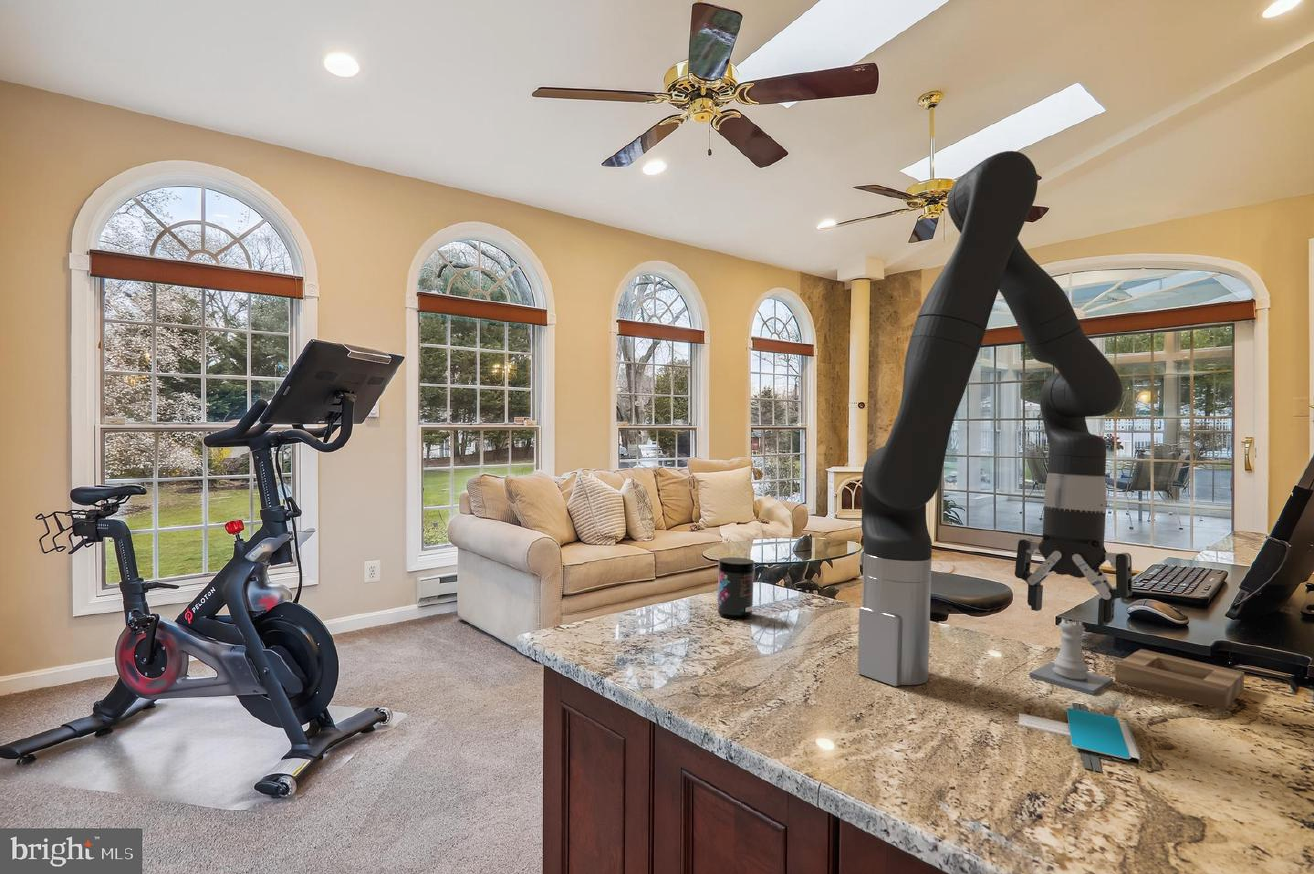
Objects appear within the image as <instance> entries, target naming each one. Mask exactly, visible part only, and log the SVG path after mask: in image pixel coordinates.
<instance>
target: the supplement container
mask: <svg viewBox="0 0 1314 874" xmlns="http://www.w3.org/2000/svg"><path fill="white" fill-rule="evenodd" d="M717 568H718V577H717V578H718V584H717V585H718V586H717V613H718V615H719V616H721V617H723V618H724V619H729V620H747V619H749V618H751V617H752V615H753V610H754V609H753V606H754V603H753V602H754V577H755V576H754V573H755V561H754V560H752V559H749V558H743V557H731V556H730V557H721V558H719V559H718V567H717Z"/></svg>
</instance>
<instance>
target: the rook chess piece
mask: <svg viewBox="0 0 1314 874" xmlns="http://www.w3.org/2000/svg"><path fill="white" fill-rule="evenodd" d="M1058 626H1059V628H1060V629H1061V634H1060V635H1059V636H1060V637H1061V644H1060V648H1059V653H1058V655H1057V657H1056V658H1055V659H1054V660H1053V662H1052V663H1054V665H1055V666H1056V667H1054V668H1053V670H1054V672H1055V673H1056V674H1057V675H1058V676H1061V677H1063V678H1067V679H1071V680H1086V679H1087V678H1088V677H1089V674H1088V673H1087V672H1089V669H1090V668H1089V666H1088V665H1087V662H1086V660H1085V659H1084V655H1083V649H1082V648H1083V647H1082V645H1083V644H1082V641H1084V638H1083V636H1082V634H1083V632H1084V631H1086V628H1085V626H1084V625H1083V621H1082V620H1080V619H1078V620H1077V619H1076V618H1072V619H1071V620H1070V618H1069V617H1062V618H1061V622H1060V623H1058Z"/></svg>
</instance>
